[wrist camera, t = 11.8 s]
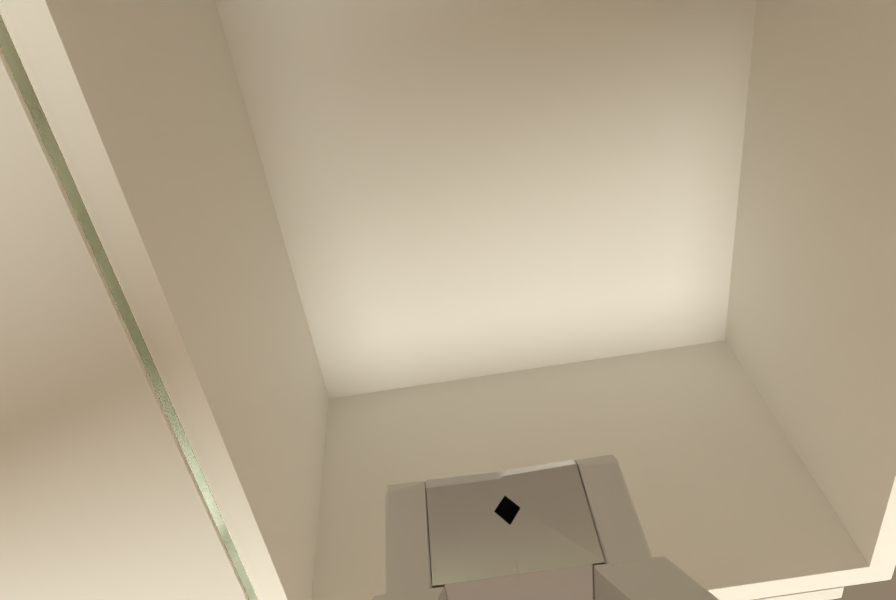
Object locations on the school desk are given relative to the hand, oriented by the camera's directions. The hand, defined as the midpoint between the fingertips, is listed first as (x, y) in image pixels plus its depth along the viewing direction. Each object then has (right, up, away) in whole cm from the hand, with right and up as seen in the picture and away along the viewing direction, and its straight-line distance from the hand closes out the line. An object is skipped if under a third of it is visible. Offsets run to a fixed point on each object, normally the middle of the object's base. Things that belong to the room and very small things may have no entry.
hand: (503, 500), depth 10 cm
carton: (+1, +7, +10) cm, 12 cm away
